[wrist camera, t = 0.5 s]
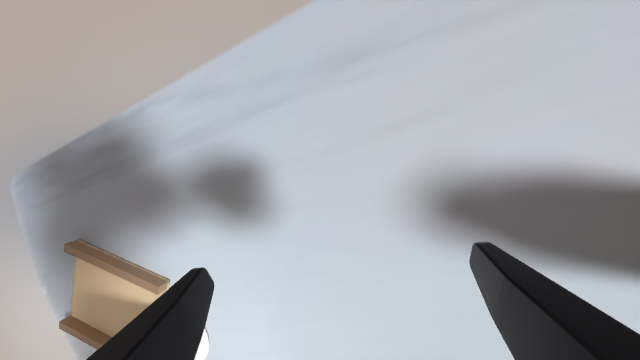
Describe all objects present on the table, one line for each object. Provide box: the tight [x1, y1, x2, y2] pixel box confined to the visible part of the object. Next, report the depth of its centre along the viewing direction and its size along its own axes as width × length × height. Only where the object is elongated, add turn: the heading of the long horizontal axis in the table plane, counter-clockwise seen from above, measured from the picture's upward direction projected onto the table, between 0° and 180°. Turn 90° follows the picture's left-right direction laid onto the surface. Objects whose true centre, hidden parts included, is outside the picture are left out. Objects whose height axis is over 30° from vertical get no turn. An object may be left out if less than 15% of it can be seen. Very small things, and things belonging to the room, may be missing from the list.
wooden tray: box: [59, 240, 170, 349], centre depth 30 cm, size 14×12×2 cm
